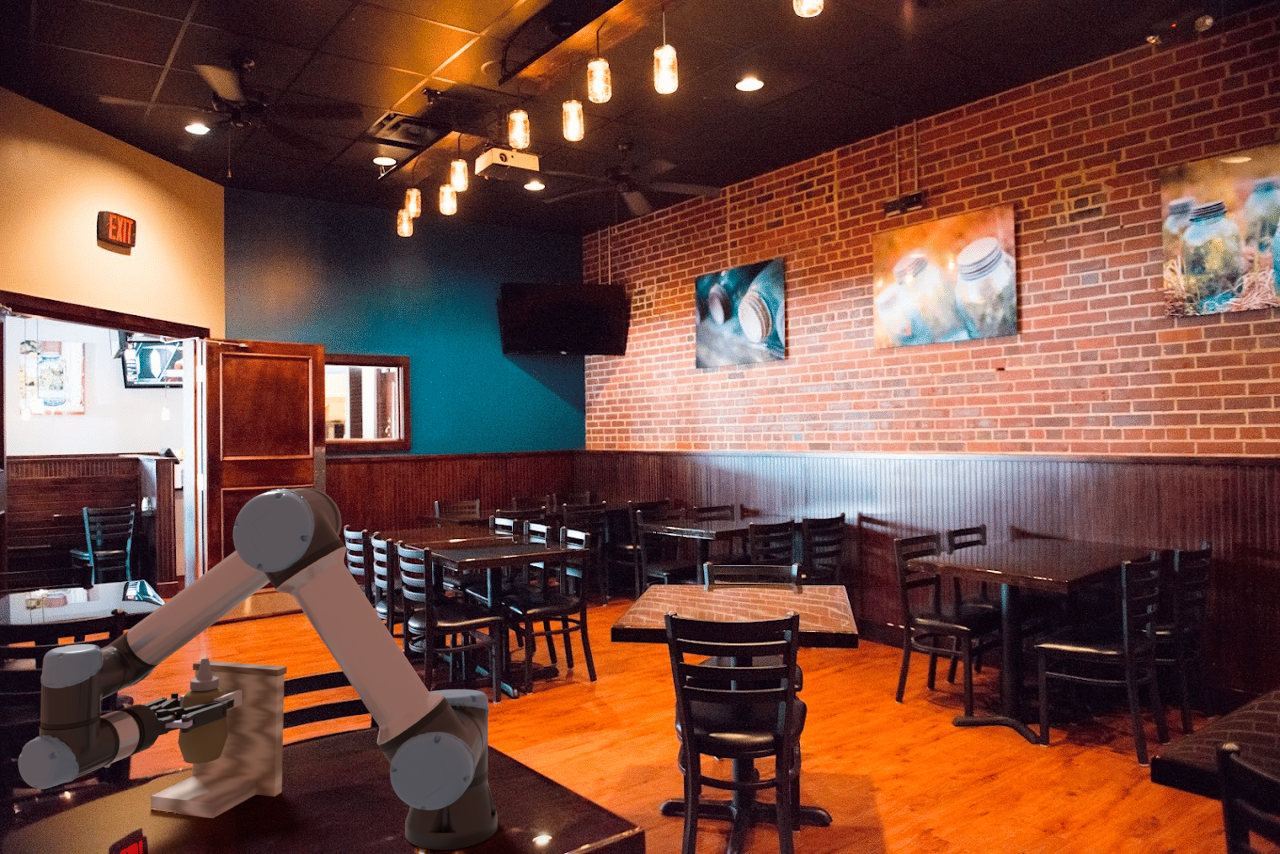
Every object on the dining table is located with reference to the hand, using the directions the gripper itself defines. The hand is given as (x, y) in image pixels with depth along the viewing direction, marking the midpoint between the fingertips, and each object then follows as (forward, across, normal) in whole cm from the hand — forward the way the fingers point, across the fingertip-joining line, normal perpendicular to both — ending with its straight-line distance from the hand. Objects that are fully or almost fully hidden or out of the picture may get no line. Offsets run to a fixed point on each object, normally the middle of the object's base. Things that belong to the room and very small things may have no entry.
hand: (223, 695), depth 160 cm
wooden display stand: (-3, +2, -18) cm, 18 cm away
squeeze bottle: (-5, 0, -10) cm, 11 cm away
